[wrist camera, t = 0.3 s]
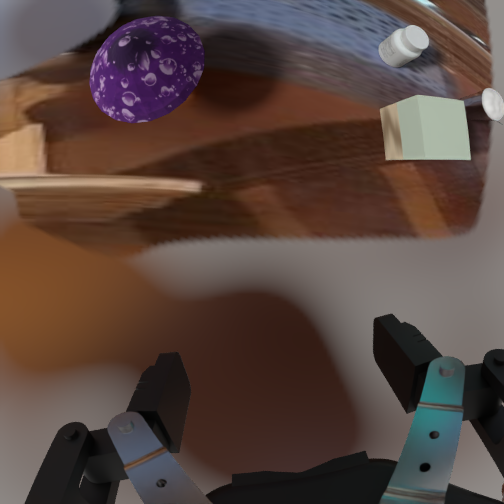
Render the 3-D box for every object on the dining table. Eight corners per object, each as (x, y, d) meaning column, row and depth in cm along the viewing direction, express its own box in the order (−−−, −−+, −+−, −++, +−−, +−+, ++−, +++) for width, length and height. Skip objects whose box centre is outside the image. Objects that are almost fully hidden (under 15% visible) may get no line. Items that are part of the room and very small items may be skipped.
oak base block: (379, 109, 35) (396, 102, 31) (421, 111, 35) (440, 106, 31) (385, 159, 37) (403, 159, 32) (427, 159, 37) (446, 159, 32)
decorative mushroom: (230, 101, 35) (222, 62, 20) (143, 150, 36) (88, 143, 22) (188, 29, 32) (162, -31, 17) (106, 76, 33) (47, 42, 19)
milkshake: (448, 123, 36) (491, 117, 26) (450, 91, 34) (491, 80, 25) (469, 133, 36) (512, 130, 26) (470, 102, 35) (512, 94, 25)
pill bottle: (408, 52, 33) (435, 36, 25) (399, 73, 34) (427, 59, 26) (383, 35, 32) (407, 15, 25) (373, 56, 33) (397, 37, 26)
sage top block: (396, 102, 31) (416, 94, 26) (440, 106, 31) (463, 100, 26) (403, 159, 32) (425, 159, 28) (447, 159, 32) (470, 159, 28)
